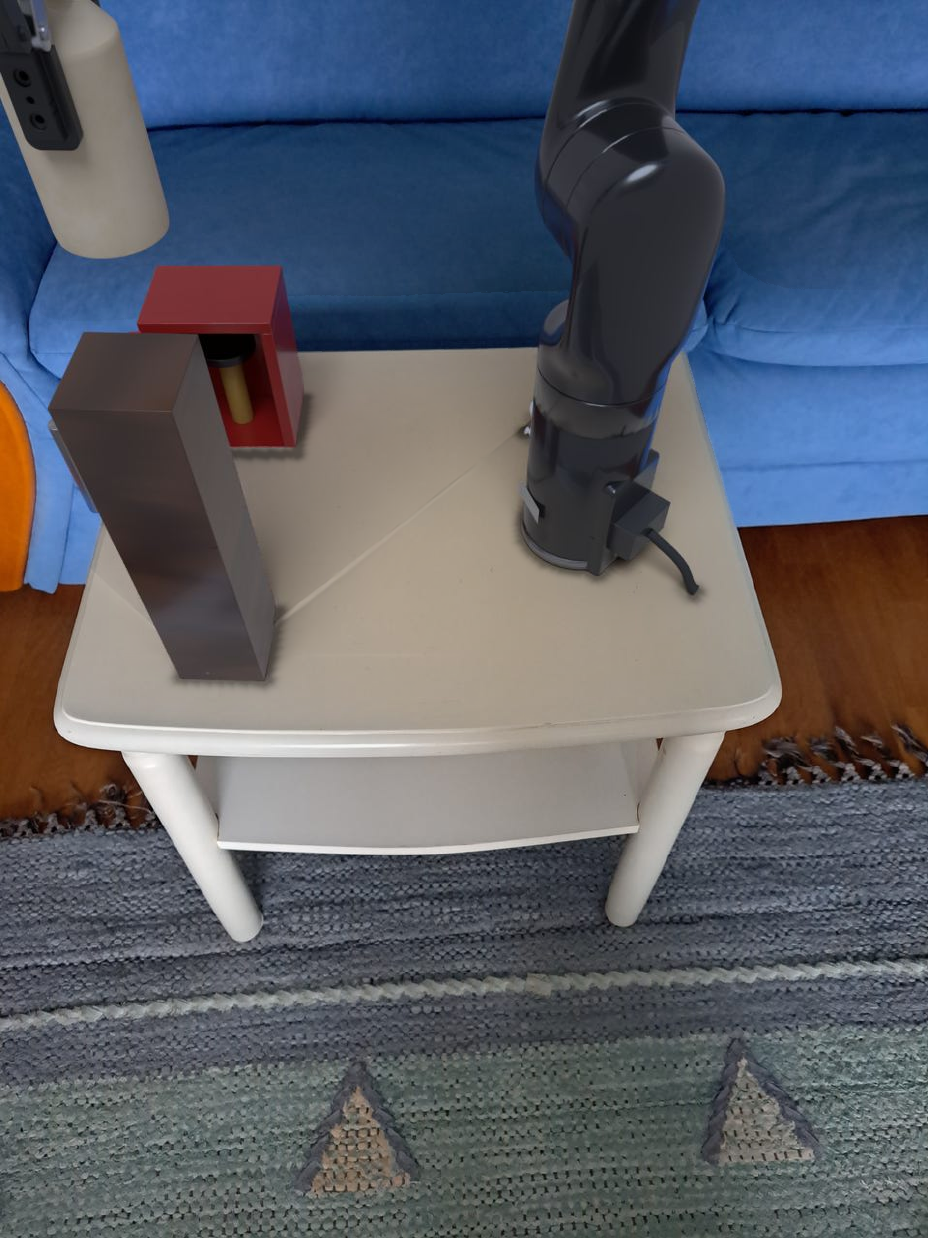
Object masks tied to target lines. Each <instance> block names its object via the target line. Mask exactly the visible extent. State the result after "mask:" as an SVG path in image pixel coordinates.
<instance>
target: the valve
mask: <svg viewBox="0 0 928 1238" xmlns="http://www.w3.org/2000/svg"><path fill="white" fill-rule="evenodd" d="M198 337H199V340H200V344H201V347H202V351H203V354H204V358H205V361H206V364H207V366H210V367H214V368H219V371H220V374H221V378H222V382H223V385H224V389H225V393H226V396H227V400H228V404H229V407H230V411H231V415H232V418H233V420H234V422H236V423H238V424H246V423H249V422H251V421H252V420H253V418H254V412H253V408H252V404H251V400H250V396H249V392H248V388H247V384H246V380H245V376H244V372H243V368H242V363H244V362H245V361H247V360H248V359H249V358H251V357H252V355H253V354H254V352H255V350H256V342H255V337H254V334H198Z"/></svg>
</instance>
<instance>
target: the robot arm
mask: <svg viewBox="0 0 928 1238" xmlns="http://www.w3.org/2000/svg"><path fill="white" fill-rule="evenodd" d="M91 1H92V2H93V3H95V4H96V5H97V6H98V7H100V8H101V9H102V7H101V3H100V0H91ZM701 1H702V0H573V1H572V5H571V11H570V15H569V19H568V23H567V28H566V32H565V36H564V41H563V43H562V49H561V53H560V57H559V60H558V65H557V68H556V73H555V77H554V81H553V84H552V89H551V93H550V98H549V101H548V105H547V109H546V112H545V113H546V114H545V117H544V122H543V125H542V130H541V135H540V138H539V139H540V140H539V143H538V144H539V145H538V147H537V155H536V159H535V166H534V179H533V183H534V196H535V197H534V198H535V201H536V205H537V209H538V212H539V214H540V217H541V220H542V222H543V224H544V226H545V227H546V229H547V231H548V232H549V233H550V235H551V237H552V238H553V240H554V241H555V243H556V244H557V245H558V247H559V248H560V250H561V251H562V253H563V254H564V255H565V257H566V258H567V259H568V261H569V262H570V264H571V265H572V266H571V268H572V270H571V283H570V288H569V289H570V290H569V296H568V298H566V299H564V300H562V301H560V302H559V303H557V304H555V305H554V306H553V307H552V308H551V309H550V310H549V311H548V312H547V313H546V315H545V317H544V318H543V320H542V322H541V325H540V329H539V333H538V342H537V351H536V352H537V353H536V365H535V366H536V367H535V378H534V388H533V396H532V397H533V399H532V401H533V408H532V417H531V419H530V420H531V421H530V428H531V430H530V436H529V441H528V452H527V453H528V454H527V465H526V475H525V484H524V482H523V481H522V478H519V483H518V484H519V486H518V493H519V494H520V497H522V499H523V508H522V511H521V520H520V529H521V534H522V537H523V540H524V541H525V543H526V545H527V546H528V547H529V548H530V550H531V551H532V552H533V553H534V554H536V555H537V556H538V557H539V558H541V560H544V561H546V562H547V563H549V564H552V565H554V566H557V567H561V568H565V569H570V570H586V571H588V572H590V573H592V574H593V575H595V576H599V575H601V574H602V573H603V572H604V571H605V570H606V569H607V568H608V567H609V566H610V565H611V564H612V563H613V562H614V561H615V560H617V559H619V558H621V559H623V560H624V561H626V562H627V563H629V562H631V560H633V558H635V557H636V556H637V555H638V554H639V553H640V552H641V551H642V550H643V549H644V548H645V547H646V546H647V545H648V544H649V543H650V542H651V543H653V544H654V545H655V546H656V547H657V548H658V549H659V550H660V551H661V552H663V553H664V554H665V556H667V557H668V558H669V559H670V560H671V562H672V563H673V564H674V565H675V567H676V568H677V569H678V571H679V572H680V575H681V577H682V580H683V583H684V585H685V587H686V589H687V591H688V592H689V593H691V594H692V595H695V594H696V593H697V592H698V589H699V587H700V585H699V584H697V582H696V581H695V578H694V575H693V572H692V569H691V567H690V566H689V564H688V562H687V561H686V559H685V558H684V557H683V556H682V555H681V553H679V551H678V550H677V549H676V548H675V547H673V545H672V544H671V543H669V542H668V541H667V540H666V539H665V538H664V537H663V536H662V535H660V534H659V533H660V532H661V531H662V530H663V529H664V527H665V524H666V520H667V517H668V514H669V510H670V507H671V501H669V500H668V499H666V498H664V497H662V496H661V495H659V494H658V493H655V492H654V491H653V490H652V489H653V486H654V481H655V478H656V473H657V470H658V466H659V462H660V457H661V455H660V452H659V451H657V450H656V449H654V448H652V446H653V445H652V444H653V441H654V437H655V433H656V429H657V425H658V420H659V416H660V413H661V408H662V403H663V401H664V400H663V399H664V396H665V391H666V388H667V383H668V378H669V375H670V372H671V368H672V364H673V362H674V361H675V359H676V358H677V357H678V356H679V354H680V353H681V351H682V350H683V348H684V347H685V345H686V344H687V343H688V340H689V339H690V337H691V335H692V332H693V330H694V327H695V325H696V321H697V319H698V316H699V313H700V309H701V305H702V302H703V299H704V296H705V293H706V290H707V286H708V284H709V280H710V276H711V274H712V271H713V267H714V264H715V261H716V258H717V255H718V251H719V249H720V248H719V247H720V245H721V240H722V237H723V232H724V229H725V228H724V227H725V221H726V213H727V188H726V187H727V186H726V183H725V182H726V181H725V179H724V176H723V173H722V171H721V168H720V167H719V166H718V164H717V163H716V161H715V160H714V159H713V158H712V157H711V156H710V154H708V152H707V151H706V150H705V149H704V147H702V146H701V145H700V144H699V143H698V142H697V141H696V140H695V139H694V138H693V136H691V134H689V133H688V131H686V130H685V129H684V128H683V127H682V126H681V125H680V124H679V123H678V122H677V121H676V106H677V100H678V95H679V94H678V93H679V87H680V82H681V78H682V71H683V68H684V65H685V60H686V55H687V52H688V47H689V44H690V41H691V40H690V39H691V36H692V32H693V28H694V24H695V20H696V18H697V14H698V11H699V7H700V5H701ZM19 3H20V5H19ZM19 3H18V0H0V73H1V76H2V79H3V81H4V84H5V86H6V89H7V92H8V94H9V97H10V99H11V102H12V105H13V107H14V110H15V113H16V115H17V118H18V120H19V123H20V126H21V128H22V131H23V133H24V136H25V139H26V141H27V142H28V143H29V144H30V145H31V146H32V147H33V148H35V149H37V150H50V151H73V150H76V149H77V148H78V146H79V145H80V143H81V141H82V139H83V135H84V134H83V130H82V126H81V123H80V120H79V117H78V114H77V111H76V108H75V105H74V102H73V99H72V96H71V93H70V90H69V87H68V84H67V81H66V78H65V75H64V72H63V69H62V66H61V63H60V59H59V56H58V53H57V50H56V47H55V45H51V32H50V28H49V23H48V18H47V13H46V7H45V2H44V0H19Z"/></svg>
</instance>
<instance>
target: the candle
mask: <svg viewBox="0 0 928 1238" xmlns="http://www.w3.org/2000/svg"><path fill="white" fill-rule="evenodd" d="M44 2H45V7H46V13H47V18H48V23H49V28H50V32H51V45H55V47H56V50H57V53H58V56H59V59H60V63H61V66H62V69H63V72H64V75H65V78H66V81H67V84H68V87H69V90H70V93H71V96H72V99H73V102H74V105H75V108H76V111H77V114H78V117H79V120H80V123H81V126H82V130H83V134H84V135H83V139H82V141H81V143H80V145H79V146H78V148H77V149H76V150H73V151H50V150H37V149H35V148H33V147H32V146H31V145H30V144H29V143H28V142H27V141H26V139H25V136H24V133H23V131H22V128H21V126H20V123H19V120H18V118H17V115H16V113H15V110H14V107H13V105H12V102H11V99H10V97H9V94H8V92H7V89H6V86H5V84H4V81H3V79H2V76H1V73H0V101H1V103H2V106H3V108H4V111H5V114H6V116H7V118H8V121H9V124H10V126H11V128H12V131H13V134H14V137H15V139H16V141H17V144H18V147H19V150H20V152H21V155H22V158H23V160H24V162H25V164H26V167H27V170H28V172H29V175H30V177H31V180H32V183H33V185H34V187H35V190H36V192H37V196H38V198H39V201H40V203H41V205H42V208H43V211H44V213H45V216H46V218H47V221H48V223H49V226H50V228H51V231H52V232H53V235H54V237H55V239H56V241H57V242H58V244H59V245H60V246H61V247H62V249H64V250H65V251H67V252H68V253H71V254H73V255H75V256H78V257H81V258H87V259H105V260H106V259H116V258H121V257H127V256H131V255H134V254H137V253H140V252H142V251H145V250H147V249H148V248H150V247H152V246H154V245H155V244H157V243H158V242H159V241H160V240H162V239H163V238H164V237H165V236H166V234H167V232H168V231H169V229H170V215H169V209H168V206H167V201H166V196H165V193H164V190H163V187H162V184H161V183H162V182H161V179H160V175H159V172H158V168H157V164H156V161H155V157H154V152H153V149H152V146H151V142H150V139H149V135H148V131H147V128H146V123H145V120H144V116H143V112H142V109H141V106H140V102H139V98H138V93H137V91H136V86H135V83H134V79H133V76H132V73H131V69H130V65H129V61H128V58H127V54H126V50H125V46H124V42H123V40H122V35H121V32H120V28H119V25H118V22H117V21H116V20H115V19H114V18H113V17H112V16H111V15H110V14H109V13H107V12H106V11H105V10H104V9H102V7H101V6H100V7H101V8H100V7H98V6H97V5H96V4H95V3H93V2H92V1H91V0H44ZM18 3H19V0H18ZM19 5H20V3H19Z"/></svg>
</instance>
